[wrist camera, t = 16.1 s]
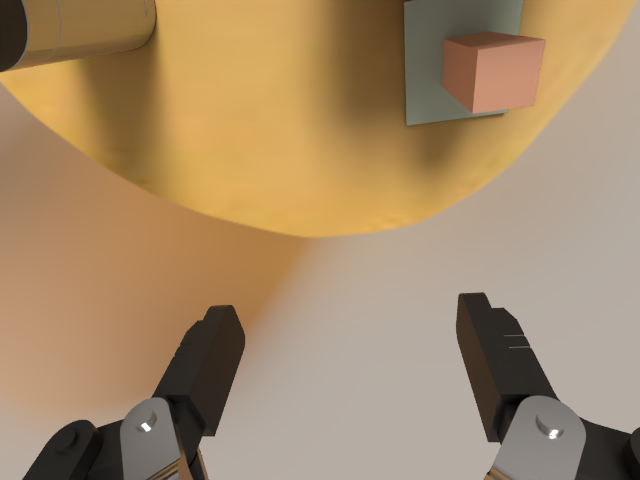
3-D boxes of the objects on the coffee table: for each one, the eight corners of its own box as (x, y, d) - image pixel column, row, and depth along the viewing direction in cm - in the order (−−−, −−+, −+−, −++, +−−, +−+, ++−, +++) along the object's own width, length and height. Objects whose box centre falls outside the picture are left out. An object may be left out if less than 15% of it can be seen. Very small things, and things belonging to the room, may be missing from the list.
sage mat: (406, 124, 40) (406, 125, 40) (403, 2, 34) (404, 2, 33) (506, 111, 38) (507, 112, 38) (523, -21, 32) (526, -22, 31)
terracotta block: (441, 86, 37) (472, 113, 27) (443, 39, 35) (477, 50, 25) (485, 80, 36) (533, 105, 26) (490, 31, 34) (545, 39, 24)
